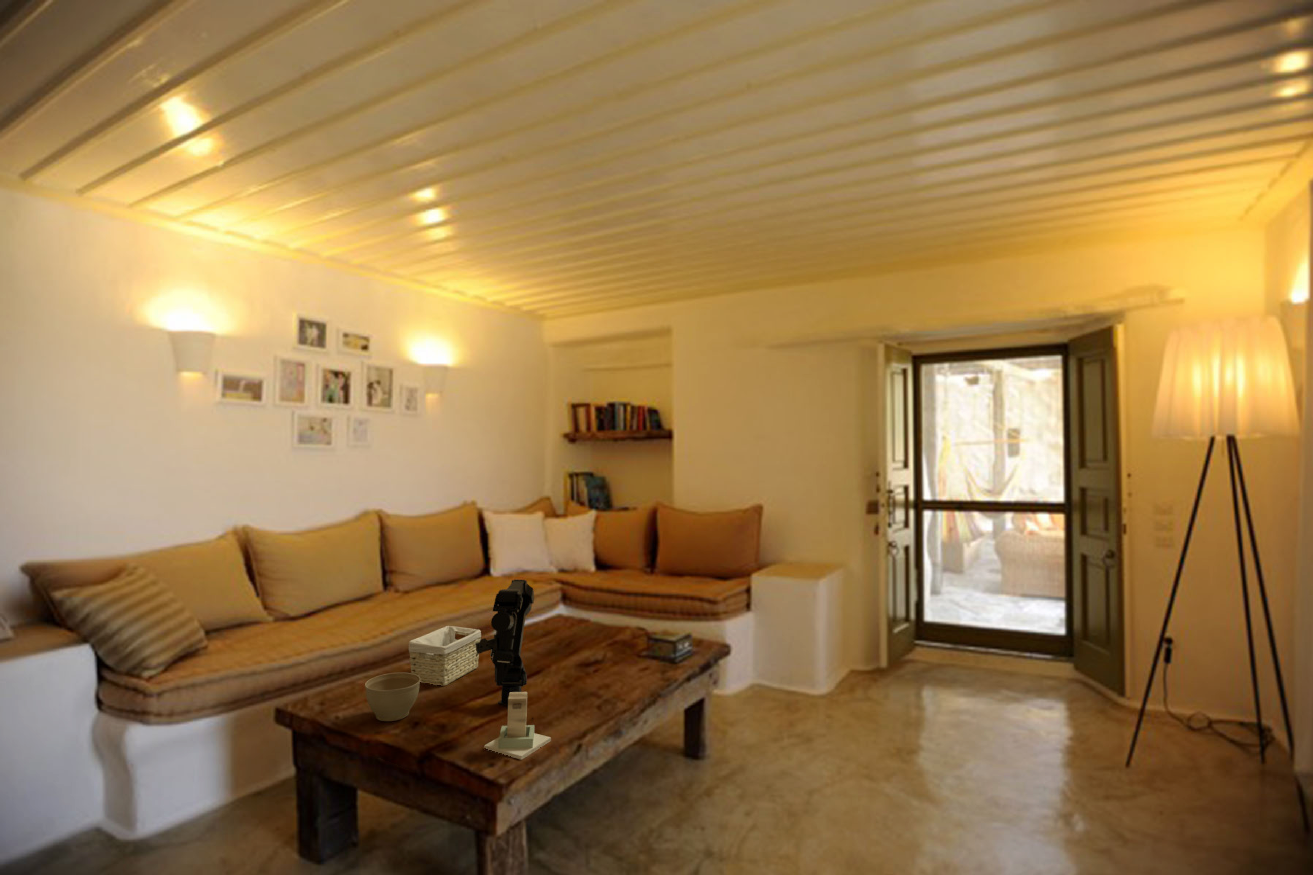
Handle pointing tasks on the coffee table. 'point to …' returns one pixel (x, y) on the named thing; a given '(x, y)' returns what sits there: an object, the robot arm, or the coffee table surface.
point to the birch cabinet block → (517, 714)
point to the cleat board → (519, 751)
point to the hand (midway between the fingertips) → (497, 683)
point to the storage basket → (444, 655)
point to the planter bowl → (392, 695)
